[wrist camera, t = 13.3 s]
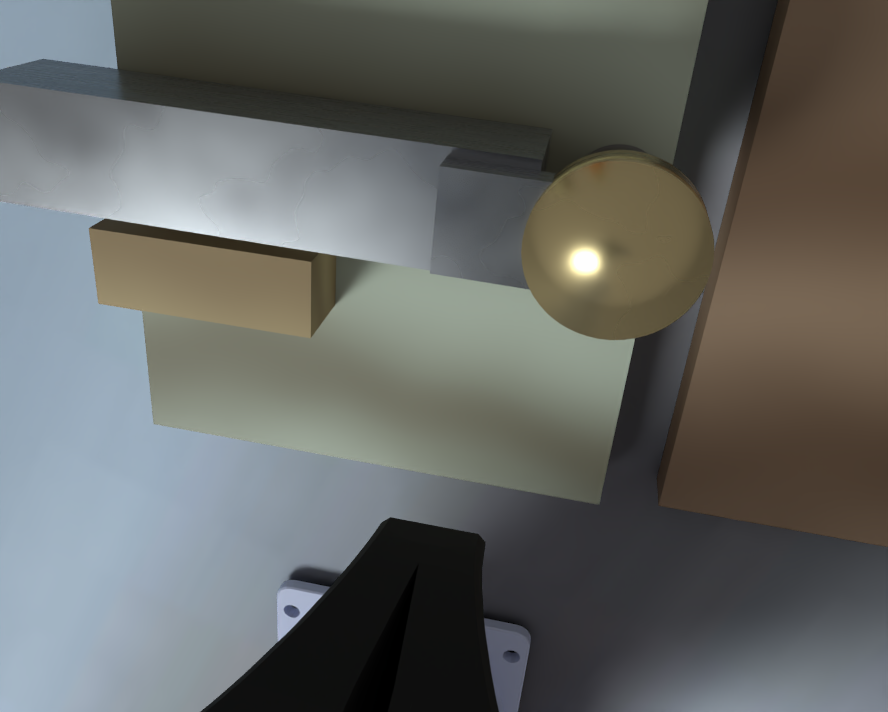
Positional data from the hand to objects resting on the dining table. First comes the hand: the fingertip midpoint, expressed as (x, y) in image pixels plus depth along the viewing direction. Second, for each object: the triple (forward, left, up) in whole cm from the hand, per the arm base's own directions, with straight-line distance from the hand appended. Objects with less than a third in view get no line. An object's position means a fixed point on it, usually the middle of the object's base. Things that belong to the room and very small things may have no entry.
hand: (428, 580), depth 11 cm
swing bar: (+3, +3, -8) cm, 10 cm away
